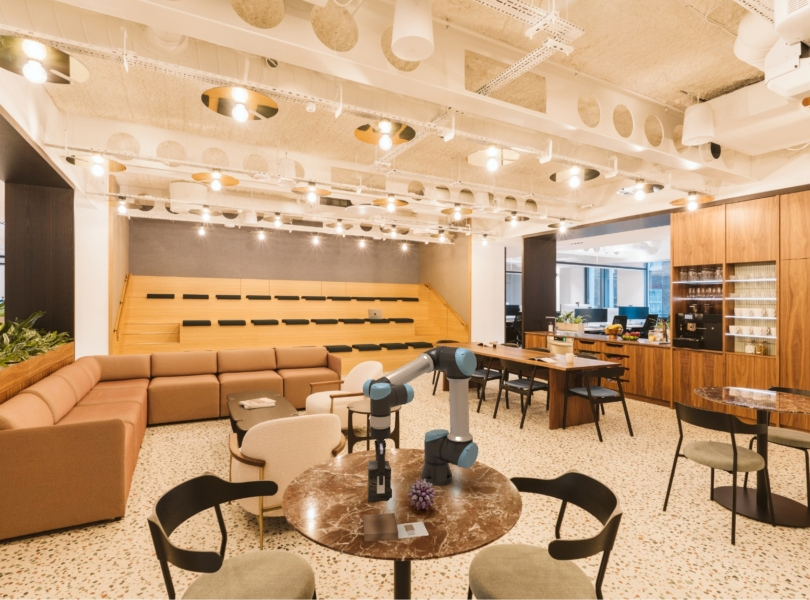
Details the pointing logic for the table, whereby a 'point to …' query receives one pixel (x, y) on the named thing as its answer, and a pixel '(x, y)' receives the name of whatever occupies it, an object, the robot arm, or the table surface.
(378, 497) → the stone block
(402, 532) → the page
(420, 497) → the flower
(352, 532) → the table surface
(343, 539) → the table surface
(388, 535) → the base brick
